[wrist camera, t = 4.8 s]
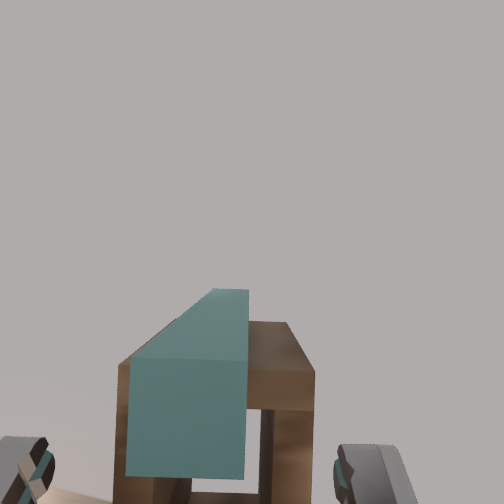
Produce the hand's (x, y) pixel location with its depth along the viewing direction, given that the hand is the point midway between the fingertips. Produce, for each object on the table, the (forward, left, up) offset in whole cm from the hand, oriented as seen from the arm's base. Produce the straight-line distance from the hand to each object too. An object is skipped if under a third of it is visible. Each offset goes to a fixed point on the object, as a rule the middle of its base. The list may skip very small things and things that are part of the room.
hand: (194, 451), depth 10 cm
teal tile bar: (0, -10, 0) cm, 10 cm away
